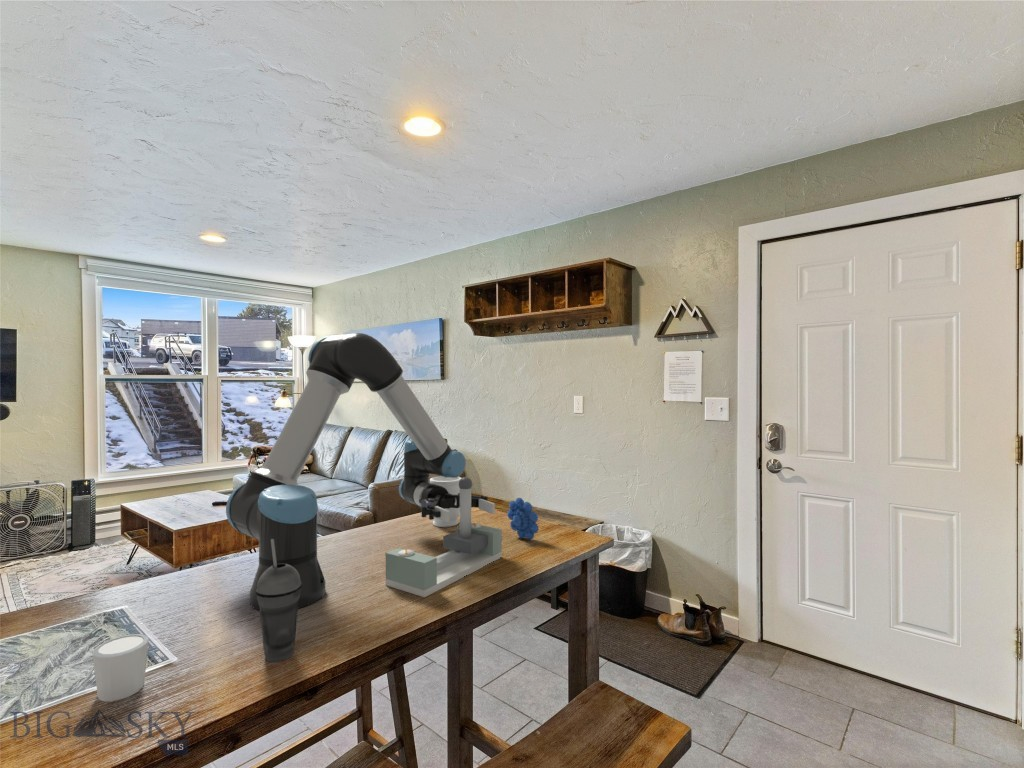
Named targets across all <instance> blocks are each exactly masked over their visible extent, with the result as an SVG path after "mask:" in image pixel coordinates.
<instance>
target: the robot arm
mask: <svg viewBox="0 0 1024 768" xmlns="http://www.w3.org/2000/svg"><path fill="white" fill-rule="evenodd" d="M307 358H308V359H307V360H308V362H309V365H308V366H309V367H308V368H307V369H306V373H305V374H306V377H307V380H308V382H307V383H306V385H305V387H304V388H303V391H302V392H301V394H300V396H299V398H298V399H297V402H296V404H295V405H294V407H293V409H292V411H291V413H290V414H289V416H288V418H287V420H286V422H285V423H284V425H283V428H282V429H281V431H280V433H279V435H278V436H277V439H276V441H275V443H274V445H273V446H272V448H271V450H270V452H269V454H268V456H267V457H266V459H265V461H264V463H263V465H262V466H261V467H259V468H257V469H254V470H252V471H251V472H250V475H249V476H248V478H247V480H246V482H245V483H244V484H241V485H239V486H237V487H236V488H235V489H234V490H233V491H232V492H231V493H230V495H229V497H228V499H227V502H226V505H225V506H226V507H225V514H226V518H227V521H228V523H229V524H230V525H231V527H233V528H234V530H236V531H237V532H238V533H240V534H241V535H244V536H247V537H251V538H253V539H255V540H257V541H258V567H257V570H256V573H255V576H254V579H253V582H252V585H251V588H250V590H249V591H250V592H249V605H250V606H251V608H253V607H254V608H253V609H255V610H257V609H258V610H257V611H260V607H259V605H258V600H257V595H256V589H257V584H258V581H259V578H260V577H261V575H262V574H263V572H264V571H265V570H266V569H268V568H269V567H271V566H273V565H274V564H273V555H272V547H271V539H274V545H275V553H276V561H277V564H280V563H284V564H288V565H291V566H292V567H294V568H295V569H296V570H297V572H298V573H299V575H300V580H301V584H302V587H301V592H300V597H299V600H298V609H300V608H304V607H306V606H309V605H311V604H314V603H316V602H317V601H319V600H321V599H322V598H323V597H324V595H325V594H326V579H325V577H324V573H323V571H322V568H321V566H320V562H319V559H318V513H319V510H318V509H319V505H318V500H317V499H318V498H317V494H316V492H315V491H314V490H313V489H311V488H310V487H307V486H304V485H299V484H298V479H299V477H300V476H301V473H302V472H303V470H304V467H305V466H306V464H307V461H308V459H309V458H310V455H311V454H312V451H313V449H314V448H315V446H316V444H317V442H318V440H319V438H320V436H321V434H322V432H323V430H324V428H325V426H326V425H327V424H326V423H327V421H328V420H329V418H330V416H331V414H332V412H333V410H334V408H335V406H336V404H337V403H338V400H339V399H340V397H341V395H344V394H347V393H349V391H350V390H351V388H352V386H353V384H354V381H355V380H359V381H361V382H362V383H363V384H365V385H366V386H367V388H368V389H369V391H370V392H373V393H377V394H378V395H379V397H380V398H381V399H382V401H383V403H385V405H386V406H387V408H388V409H389V411H390V412H391V414H392V415H393V416H394V417H395V419H396V420H397V422H398V423H399V424H400V426H401V427H402V428H403V430H404V431H405V432H406V434H407V436H408V437H409V438H410V439H407V440H406V441H405V442H404V449H403V450H404V451H403V462H404V463H403V466H404V468H403V469H404V471H403V472H404V473H403V475H404V476H403V478H402V480H401V481H400V483H399V486H398V494H399V497H401V498H402V500H405V501H406V502H407V503H409V504H412V505H416V506H418V509H419V510H420V511H421V514H420V515H421V518H427V516H428V519H429V520H431V521H432V520H433V521H434V517H436V518H438V519H440V520H443V521H445V522H447V523H448V522H450V511H448V510H446V509H445V508H459V507H460V493H458V495H452V494H449V493H448V491H447V490H446V489H445V488H444V487H442V486H439V485H436V484H433V483H430V474H431V475H436V476H444V477H452V478H455V477H460V476H461V475H462V474H463V473H464V471H465V469H466V464H467V463H466V457H465V455H464V454H463V453H462V452H460V451H457V450H453V449H452V448H451V447H450V445H449V444H448V442H447V441H446V439H445V438H444V436H443V435H442V433H441V432H440V431H439V429H438V428H437V426H436V424H435V423H434V421H433V420H432V418H431V417H430V416H429V414H428V413H427V411H426V409H425V408H424V407H423V405H422V404H421V402H420V401H419V399H418V397H417V396H416V394H414V392H413V390H412V388H410V386H409V384H408V383H407V381H406V380H405V379H404V378H405V377H404V376H403V373H404V370H403V368H402V366H401V365H400V364H399V363H398V361H397V360H396V358H395V357H394V355H393V354H392V353H391V352H390V350H388V349H387V348H386V347H385V346H384V345H383V343H382V342H380V341H379V340H378V339H376V338H374V337H373V336H372V335H369V334H366V333H363V332H361V333H360V332H355V333H354V332H352V333H348V334H347V333H346V334H330V335H327V336H324V337H321V338H319V339H318V340H317V341H316V342H315V343H314V344H313V345H312V346H311V347H310V350H309V353H308V357H307ZM488 500H489V499H488V496H484V495H476V494H475V495H473V494H471V508H476V509H477V508H478V510H480V511H483V512H487V513H489V514H491V515H494V514H496V512H495V510H496V509H495V507H496V503H495V502H491V501H488ZM455 502H456V505H454V504H455Z"/></svg>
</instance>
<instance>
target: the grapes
mask: <svg viewBox="0 0 1024 768" xmlns="http://www.w3.org/2000/svg"><path fill="white" fill-rule="evenodd" d="M508 507H509V509H508V511H507V513H506V515H507V518H508V520H510V525H509V526H510V528H511V530H512V531H515V532H516V531H517V532H516V533H517V536H518V538H520V539H522V538H523V539H525V538H526V539H527V540H533V539H534V537H535V534H537V533H538V532H539V524H537V522H538V521H539V515H538V514H537V513H536V512H535V511H533V506H532V504H531V503H530V502H529V501H524V500H523V498H522V497H517V498H516V499H515V500H511V501H510V502H509V504H508Z"/></svg>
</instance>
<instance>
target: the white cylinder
mask: <svg viewBox="0 0 1024 768" xmlns="http://www.w3.org/2000/svg"><path fill="white" fill-rule="evenodd" d="M149 640H150V638H149V637H148V635H146V634H142V633H141V634H140V633H137V634H135V633H133V634H126V635H121V636H118V637H115V638H111V639H108V640H106V641H104V642H102V643H100V644H99V645H97V646H96V647H95V648H94V649H93V651H92V661H93V669H94V677H95V684H96V692H97V698H98V700H99V701H102V702H116V701H121V700H123V699H126V698H129V697H131V696H133V695H134V694H137V693H139V691H140V690H142V689H143V687H144V685H145V680H146V679H145V678H146V669H147V663H148V662H147V661H148V651H149V643H150V641H149Z"/></svg>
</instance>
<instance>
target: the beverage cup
mask: <svg viewBox="0 0 1024 768" xmlns="http://www.w3.org/2000/svg"><path fill="white" fill-rule="evenodd" d="M271 547H272V555H273V564H274V565H273V566H271V567H269V568H268V569H266V570H265V571H264V572H263V574H262V575H261V577H260V578H259V581H258V584H257V589H256V595H257V600H258V605H259V607H260V610H259V618H260V624H261V625H260V626H261V627H260V628H261V635H262V647H263V654H264V659H265V661H267V662H269V663H279V662H282V661H285V660H288V659H290V658H291V656H293V655H294V649H295V644H296V643H295V642H296V635H297V634H296V631H297V622H298V611H299V608H298V600H299V597H300V592H301V587H302V584H301V580H300V575H299V573H298V572H297V570H296V569H295V568H294V567H292V566H291V565H288V564H284V563H280V564H277V561H276V553H275V545H274V539H271Z"/></svg>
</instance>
